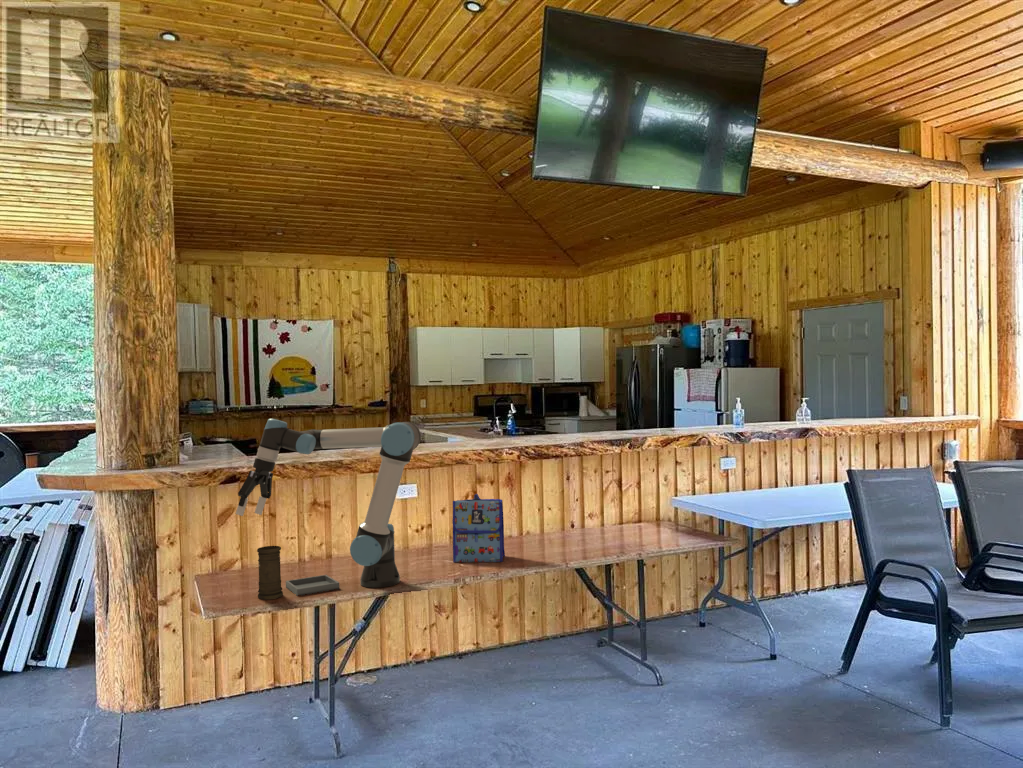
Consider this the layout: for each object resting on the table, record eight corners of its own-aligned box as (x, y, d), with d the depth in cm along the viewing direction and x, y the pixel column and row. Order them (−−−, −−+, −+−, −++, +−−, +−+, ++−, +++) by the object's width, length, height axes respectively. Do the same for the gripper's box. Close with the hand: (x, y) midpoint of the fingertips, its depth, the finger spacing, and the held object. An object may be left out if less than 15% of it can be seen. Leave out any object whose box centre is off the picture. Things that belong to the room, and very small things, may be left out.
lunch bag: (452, 563, 323) (450, 496, 323) (457, 556, 336) (455, 492, 337) (503, 562, 321) (501, 495, 322) (505, 555, 335) (503, 491, 335)
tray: (326, 580, 298) (326, 574, 298) (339, 589, 284) (339, 582, 284) (285, 587, 290) (285, 580, 290) (297, 596, 276) (297, 589, 276)
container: (275, 600, 271) (274, 550, 272) (252, 599, 273) (251, 550, 273) (287, 593, 280) (286, 545, 281) (265, 593, 282) (264, 545, 282)
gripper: (273, 458, 295) (256, 510, 293) (239, 455, 271) (221, 512, 269) (289, 463, 293) (273, 516, 291) (257, 460, 269) (240, 518, 267)
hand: (248, 514), depth 280 cm, fingers open, 13 cm apart
